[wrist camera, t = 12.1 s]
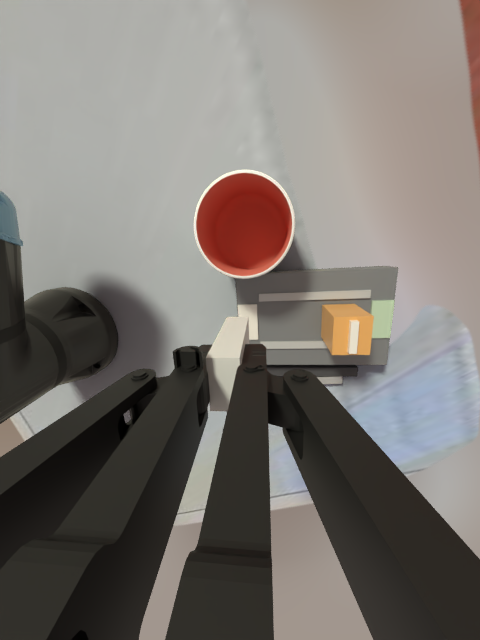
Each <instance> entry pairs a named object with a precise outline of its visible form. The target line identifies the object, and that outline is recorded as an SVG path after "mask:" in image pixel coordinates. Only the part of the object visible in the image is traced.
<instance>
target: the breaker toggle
mask: <svg viewBox="0 0 480 640" xmlns="http://www.w3.org/2000/svg"><path fill="white" fill-rule="evenodd" d="M373 319H374V316H373V315H371V314H370V313H368V312H367V311H365V310H363V309H362V308H360V307H359V306H357V305H356V304H329V305H322V322H321V337H322V339H323V341H324V342H325V344H326V346H327V348H328V349H329V351H330V353H331V354H332V355H370V350H371V340H372V329H373Z"/></svg>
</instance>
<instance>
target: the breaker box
mask: <svg viewBox="0 0 480 640" xmlns="http://www.w3.org/2000/svg"><path fill="white" fill-rule="evenodd" d="M397 273H398V267H391V266H374V267H354V268H333V269H311V270H290V271H269V272H267V273H266V274H263V275H261V276H258V277H255V278H249V279H239V278H236V293H237V310H238V317H248V318H249V344H263V345H264V346H265V347H266V360H267V365H386V364H387V356H388V348H389V340H390V333H391V325H392V318H393V309H394V301H395V300H394V298H395V290H396V282H397ZM329 304H356V305H357V306H359V307H360V308H362V309H363V310H365V311H367V312H368V313H370V314H371V315H373V316H374V319H373V329H372V340H371V350H370V355H332V354H331V353H330V351H329V349H328V348H327V346H326V344H325V342H324V341H323V339H322V337H321V322H322V305H329Z"/></svg>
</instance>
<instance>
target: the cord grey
mask: <svg viewBox="0 0 480 640" xmlns="http://www.w3.org/2000/svg"><path fill="white" fill-rule="evenodd" d="M278 377H283V376H278ZM316 377H317V378H318V379H319V380H320V381H321V382H322V384H342V376H316Z"/></svg>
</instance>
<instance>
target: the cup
mask: <svg viewBox="0 0 480 640" xmlns="http://www.w3.org/2000/svg"><path fill="white" fill-rule="evenodd" d="M294 233H295V214H294V210H293V206H292V203H291V201H290V198H289V196H288V195H287V193H286V192H285V190H284V189H283V188H282V186H281V185H280V184H279V183H278V182H276V181H275V180H274V179H273V178H271V177H269V176H268V175H266V174H263V173H261V172H258V171H253V170H237V171H233V172H229V173H227V174H224V175H223V176H221V177H219V178H218V179H216V180H215V181H214V182H212V183H211V184H210V185H209V186H208V188H207V189H206V190H205V191H204V193H203V194H202V196H201V198H200V200H199V202H198V204H197V208H196V211H195V216H194V234H195V239H196V242H197V245H198V248H199V250H200V252H201V254H202V255H203V257H204V258H205V260H206V261H207V262H208V263H209V264H210V265H211V266H212V267H213V268H214V269H216V270H217V271H219V272H220V273H222V274H224V275H227V276H229V277H233V278H239V279H249V278H255V277H258V276H261V275H263V274H266V273H267V272H269V271H271V270H272V269H274V268H275V267H276V266H277V265H278V264H279V263H280V262H281V261H282V260H283V259H284V257H285V256H286V254H287V252H288V251H289V249H290V247H291V244H292V241H293V238H294Z"/></svg>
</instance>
